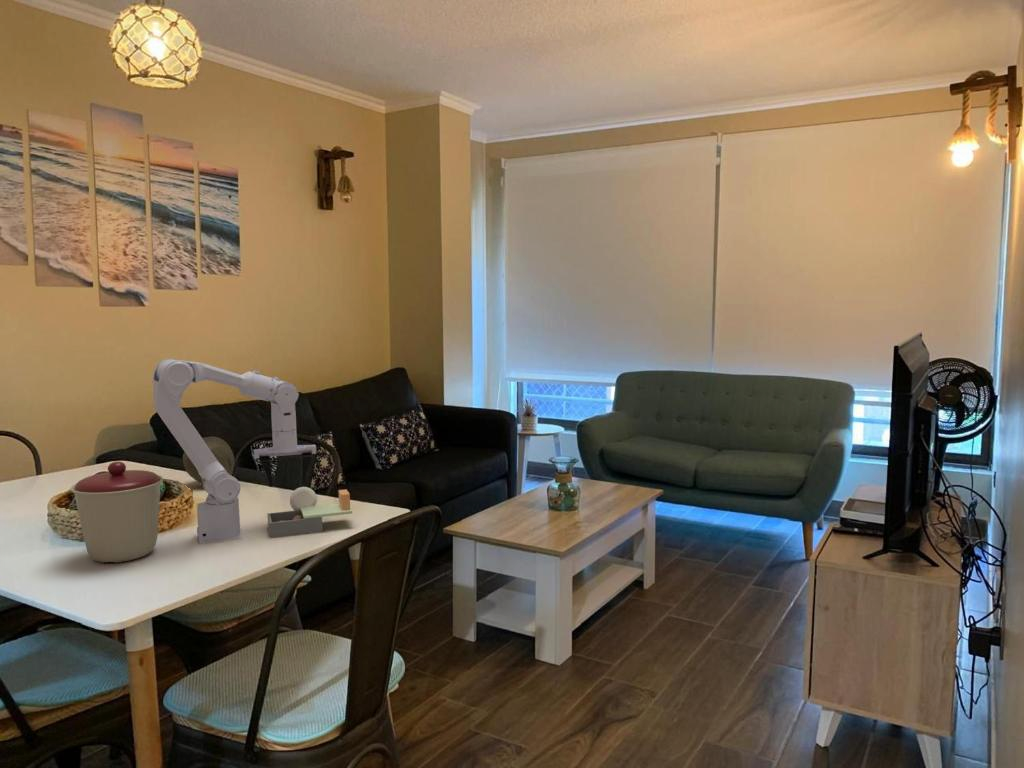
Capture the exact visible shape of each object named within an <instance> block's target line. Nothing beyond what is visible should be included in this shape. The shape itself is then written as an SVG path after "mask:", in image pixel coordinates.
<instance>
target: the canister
mask: <svg viewBox="0 0 1024 768" xmlns="http://www.w3.org/2000/svg"><path fill="white" fill-rule="evenodd" d="M126 466H127V465H126V464H125V462H122V461H113V462H111V463H109V465H108V466H107V472H102V473H96V474H93V475H90V476H87V477H84V478H82V479H80V480H79V481H77V482H76V483H75V484H73V485H72V486H71V487H70V492H71V493H73V495H74V498H75V499H74V500H75V504H76V508H77V513H78V517H79V521H80V528H81V532H82V535H83V540H84V544H85V548H86V552H87V553H88V555H89V557H90V558H91V559H92V560H93V561H96V562H99V563H104V562H106V563H107V562H114V563H122V562H123V561H124V562H129V561H133V560H136V559H140V558H142V557H145V556H146V555H148V554H150V553H151V552H153V550H154V549H155V547H156V545H157V541H158V531H159V520H160V519H159V518H160V500H161V499H160V497H161V484H162V483H163V481H164V477H163V476H162V475H159V474H157V473H155V472H154V471H150V470H140V469H138V470H137V469H128V470H127V467H126ZM124 562H123V563H124Z"/></svg>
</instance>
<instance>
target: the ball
mask: <svg viewBox="0 0 1024 768" xmlns="http://www.w3.org/2000/svg"><path fill="white" fill-rule="evenodd" d="M298 519H304V518H303V516H301V515H297V516H295V517H294V518H293V520H298Z"/></svg>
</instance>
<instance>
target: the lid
mask: <svg viewBox="0 0 1024 768" xmlns="http://www.w3.org/2000/svg"><path fill="white" fill-rule="evenodd" d="M350 496H351V494H350V492H349V491H348V490H347V489H338V503H330V504H321V505H315V506H310V507H301V508H300V510H301V513H302V515H303V518H304V519H307V518H316V517H322V518H325V517H333V516H340V515H341V516H343V515H350V514H353V510H352V508H351V497H350Z"/></svg>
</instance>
